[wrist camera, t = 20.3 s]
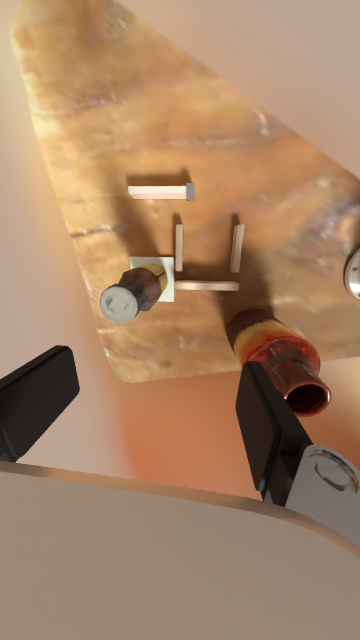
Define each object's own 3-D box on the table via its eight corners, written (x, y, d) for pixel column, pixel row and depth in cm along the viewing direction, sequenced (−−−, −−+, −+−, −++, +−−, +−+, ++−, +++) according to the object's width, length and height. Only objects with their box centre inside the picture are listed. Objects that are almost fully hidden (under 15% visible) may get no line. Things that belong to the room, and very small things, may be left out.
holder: (240, 227, 33) (247, 223, 29) (233, 287, 36) (238, 290, 33) (177, 226, 33) (175, 222, 30) (176, 285, 37) (174, 288, 33)
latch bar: (194, 190, 31) (194, 182, 28) (193, 200, 32) (193, 194, 29) (133, 190, 32) (127, 183, 29) (133, 200, 32) (127, 194, 29)
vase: (228, 354, 42) (258, 436, 23) (225, 311, 38) (258, 365, 19) (275, 350, 40) (350, 432, 21) (276, 305, 37) (367, 355, 18)
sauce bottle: (133, 273, 36) (70, 288, 18) (159, 257, 35) (120, 255, 16) (150, 300, 38) (109, 340, 19) (175, 286, 37) (157, 315, 18)
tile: (174, 257, 35) (174, 257, 35) (174, 301, 38) (173, 301, 38) (130, 256, 36) (129, 256, 35) (133, 299, 39) (132, 300, 38)
